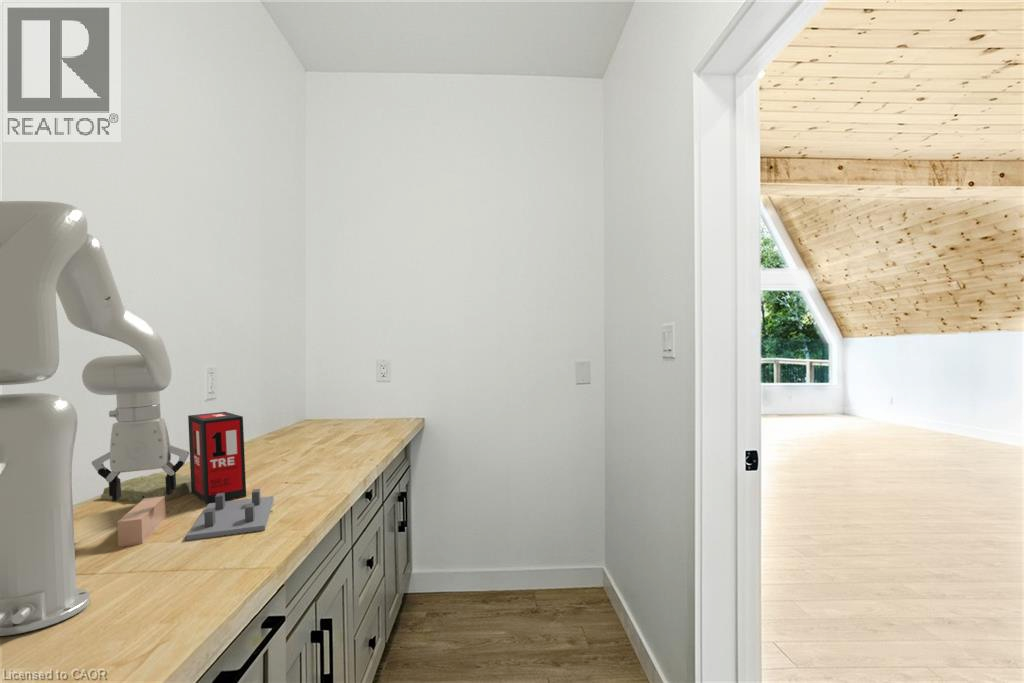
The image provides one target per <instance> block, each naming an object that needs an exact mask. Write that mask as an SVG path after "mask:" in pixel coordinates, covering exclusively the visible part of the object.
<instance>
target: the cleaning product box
mask: <svg viewBox="0 0 1024 683" xmlns="http://www.w3.org/2000/svg"><path fill="white" fill-rule="evenodd" d="M187 421H188V422H187V423H188V441H189V443H188V445H189V463H190V464H189V466H190V467H189V468H190V469H189V470H190V474H191V492H190V493H192V494H193V495H195V496H196V497H197V498H198V499H200V501H202V502H203V503H204V504H206V505H208V504H209V503H215V496H216V495H217V493H225V502H226V501H233V500H237V499H242V498H246V497H247V482H246V462H245V461H246V459H245V439H244V436H245V435H244V432H245V431H244V416H242V415H239V414H235V413H231V412H227V411H221V412H220V411H219V412H210V413H209V412H207V413H200V414H190V415H188V416H187Z"/></svg>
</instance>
